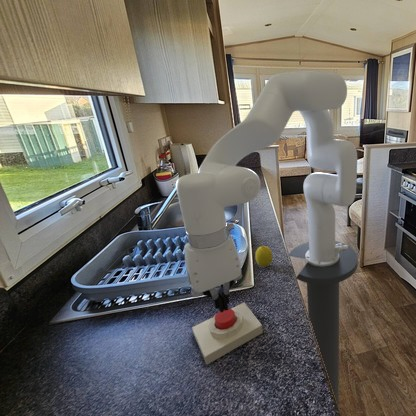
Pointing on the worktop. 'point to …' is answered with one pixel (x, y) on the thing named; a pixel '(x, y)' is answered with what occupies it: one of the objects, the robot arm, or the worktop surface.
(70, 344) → the worktop surface
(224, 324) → the button
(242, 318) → the switch block
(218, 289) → the robot arm
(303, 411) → the worktop surface
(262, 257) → the lemon
